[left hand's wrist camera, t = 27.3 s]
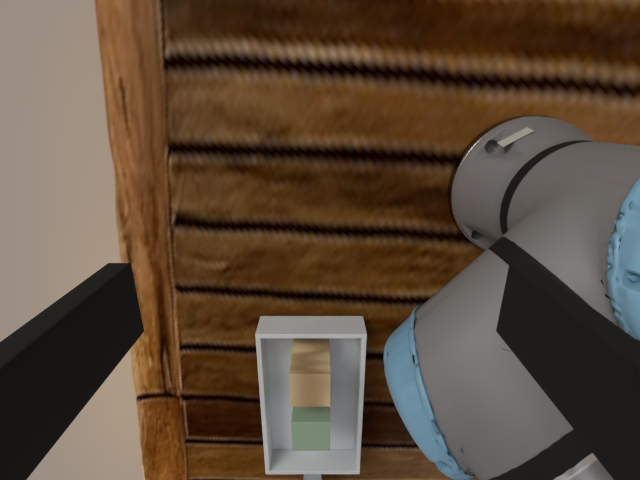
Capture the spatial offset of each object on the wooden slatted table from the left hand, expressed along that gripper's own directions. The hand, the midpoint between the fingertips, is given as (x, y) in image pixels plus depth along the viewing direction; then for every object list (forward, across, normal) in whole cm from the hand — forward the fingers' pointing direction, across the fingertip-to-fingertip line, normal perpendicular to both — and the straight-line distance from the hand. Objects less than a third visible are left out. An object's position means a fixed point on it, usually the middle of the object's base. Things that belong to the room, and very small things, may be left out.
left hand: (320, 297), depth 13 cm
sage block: (+28, +1, +30) cm, 41 cm away
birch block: (+28, +1, +23) cm, 36 cm away
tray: (+29, +1, +35) cm, 45 cm away
